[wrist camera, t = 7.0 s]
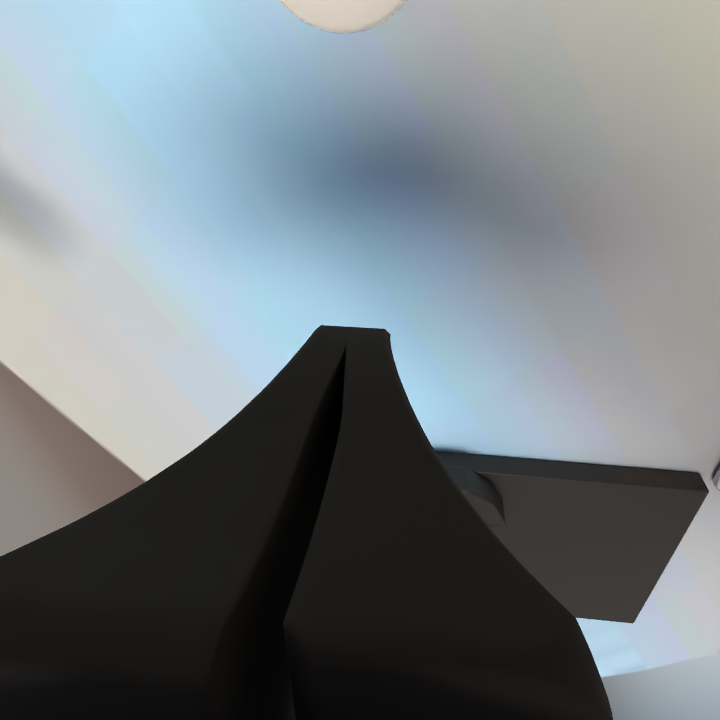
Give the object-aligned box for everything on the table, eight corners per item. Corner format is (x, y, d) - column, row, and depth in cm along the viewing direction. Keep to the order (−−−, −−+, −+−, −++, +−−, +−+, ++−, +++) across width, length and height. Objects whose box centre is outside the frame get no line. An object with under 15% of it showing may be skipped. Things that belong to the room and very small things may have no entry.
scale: (702, 469, 25) (725, 513, 23) (628, 605, 32) (641, 648, 30) (389, 443, 26) (386, 483, 24) (380, 580, 33) (377, 621, 31)
